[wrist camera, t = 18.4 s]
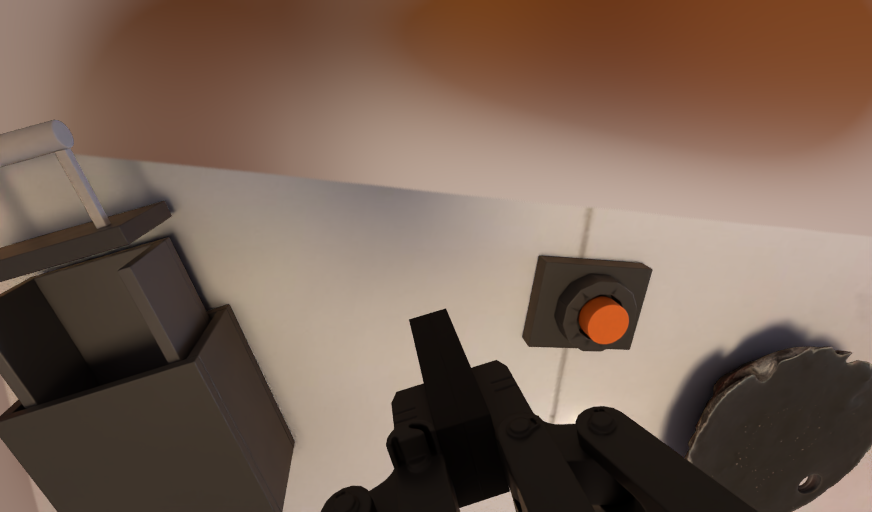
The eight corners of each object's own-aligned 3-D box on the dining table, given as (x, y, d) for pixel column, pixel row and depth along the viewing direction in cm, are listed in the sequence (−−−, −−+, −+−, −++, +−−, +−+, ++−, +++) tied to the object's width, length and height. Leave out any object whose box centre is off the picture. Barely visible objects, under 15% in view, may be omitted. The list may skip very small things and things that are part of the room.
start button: (574, 333, 40) (583, 343, 38) (583, 294, 38) (593, 303, 37) (612, 335, 40) (623, 345, 39) (622, 297, 39) (634, 305, 38)
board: (822, 467, 55) (866, 502, 51) (653, 510, 53) (682, 552, 48) (856, 303, 48) (912, 326, 43) (660, 345, 45) (696, 375, 41)
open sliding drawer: (-56, 158, 30) (-167, 175, 24) (120, 110, 31) (59, 114, 24) (100, 400, 37) (48, 463, 31) (241, 356, 38) (217, 409, 31)
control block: (522, 337, 42) (535, 357, 39) (538, 255, 40) (555, 269, 37) (620, 340, 44) (641, 360, 41) (641, 262, 42) (666, 276, 39)
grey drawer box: (70, 352, 36) (-11, 425, 28) (229, 303, 37) (194, 361, 29) (157, 486, 41) (110, 580, 33) (294, 442, 42) (280, 523, 34)
